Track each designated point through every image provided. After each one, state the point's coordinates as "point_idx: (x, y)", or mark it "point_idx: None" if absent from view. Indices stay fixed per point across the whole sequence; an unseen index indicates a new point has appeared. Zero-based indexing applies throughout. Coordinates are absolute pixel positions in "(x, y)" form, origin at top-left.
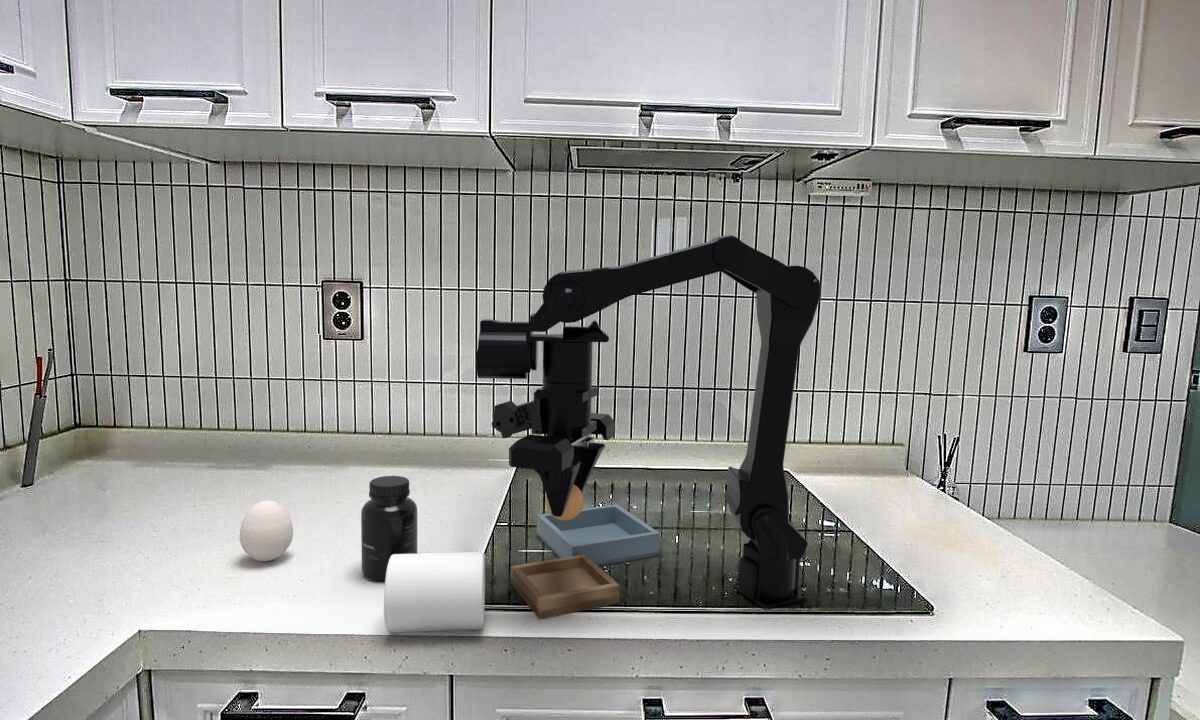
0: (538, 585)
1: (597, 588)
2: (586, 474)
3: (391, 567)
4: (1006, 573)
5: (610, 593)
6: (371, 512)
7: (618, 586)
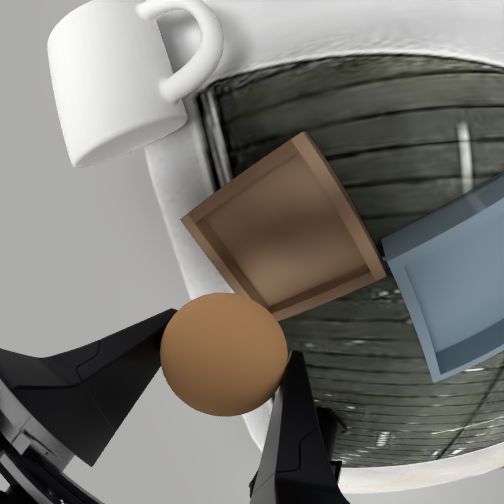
0: (271, 195)
1: None
2: (261, 460)
3: (48, 44)
4: (351, 486)
5: None
6: None
7: None
